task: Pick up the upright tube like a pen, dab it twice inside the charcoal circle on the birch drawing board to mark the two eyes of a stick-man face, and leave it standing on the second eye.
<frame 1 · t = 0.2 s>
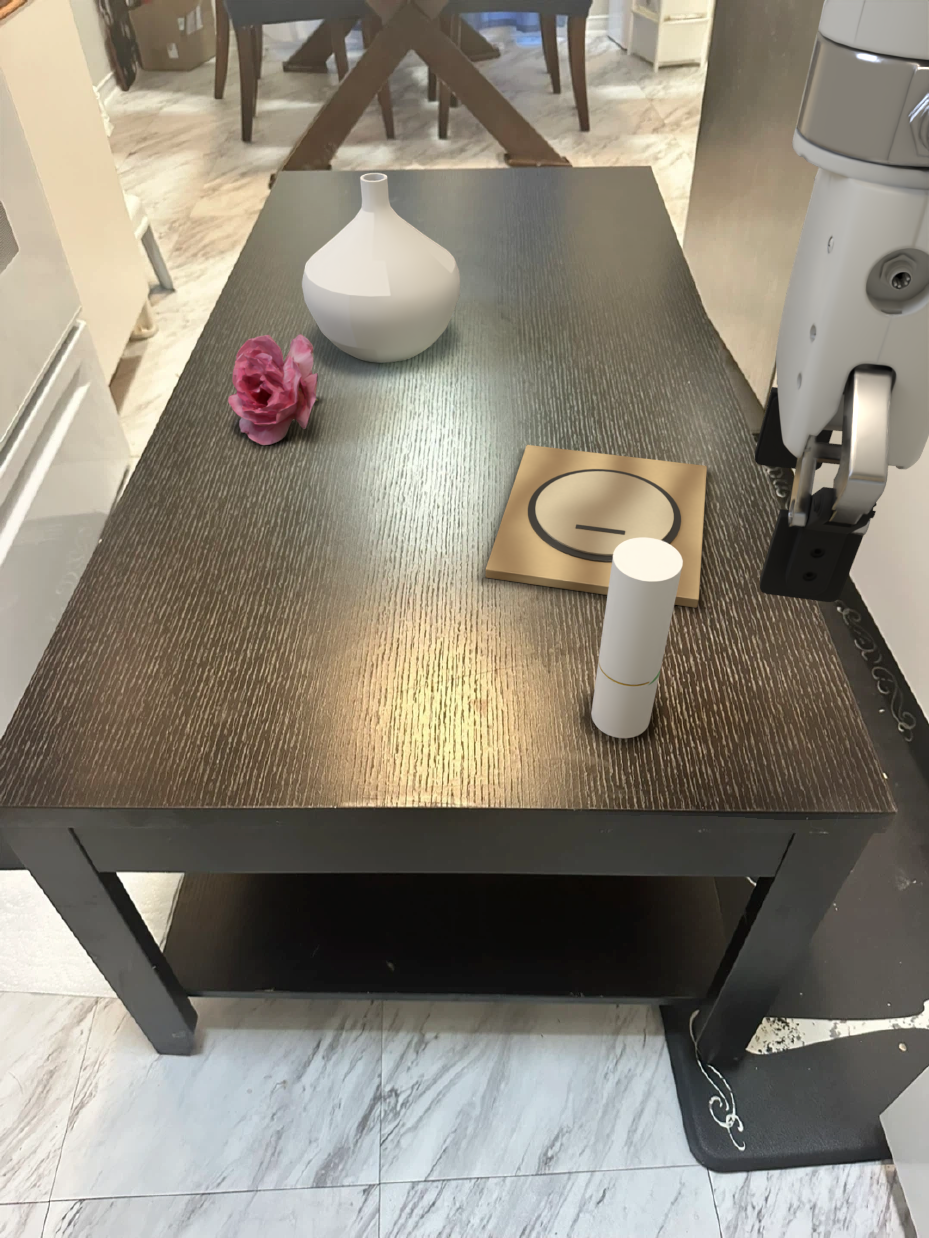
hand: (791, 523, 41), 25 cm above the table, tool pointing down, fingers open, 9 cm apart
vase: (386, 345, 109), on the table
flower: (279, 425, 96), on the table
tube: (620, 717, 65), on the table
drawing board: (602, 522, 82), on the table
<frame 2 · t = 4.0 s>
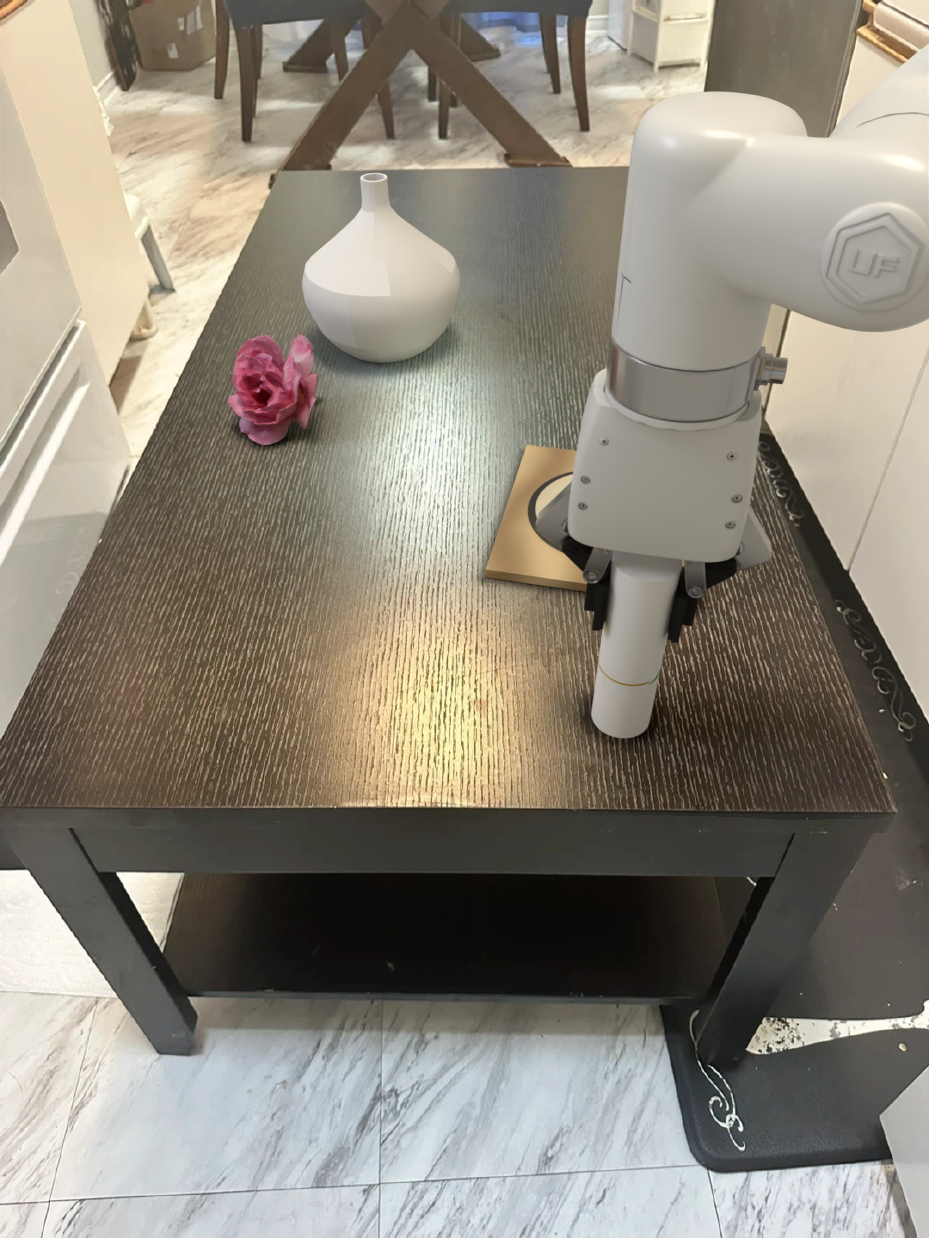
hand: (636, 620, 59), 10 cm above the table, tool pointing down, fingers closed on tube, 4 cm apart
tube: (620, 717, 65), on the table, touching gripper
everything else where it was.
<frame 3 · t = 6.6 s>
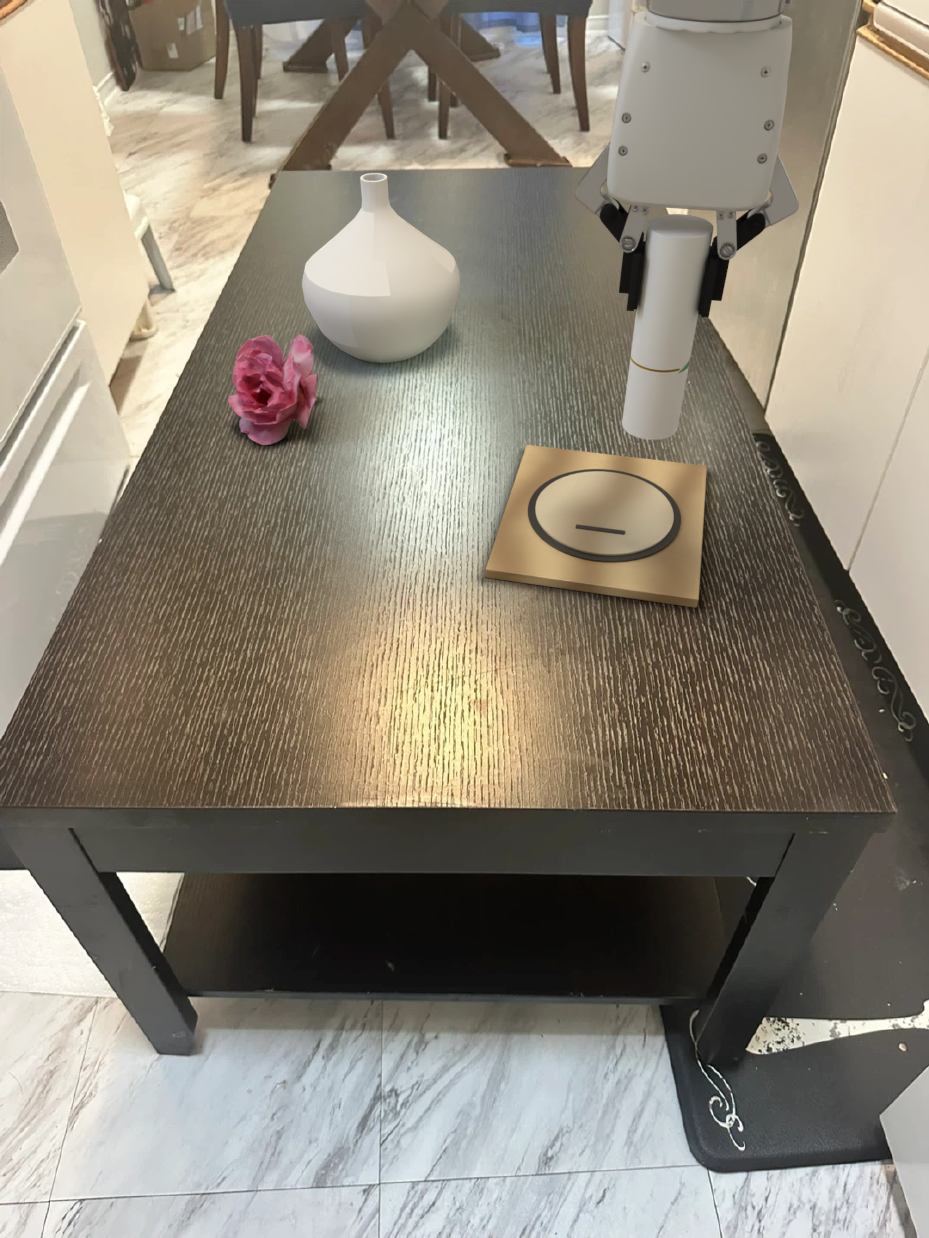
hand: (668, 303, 62), 23 cm above the table, tool pointing down, fingers closed on tube, 4 cm apart
tube: (649, 427, 69), point 14 cm above the table, touching gripper
everything else where it was.
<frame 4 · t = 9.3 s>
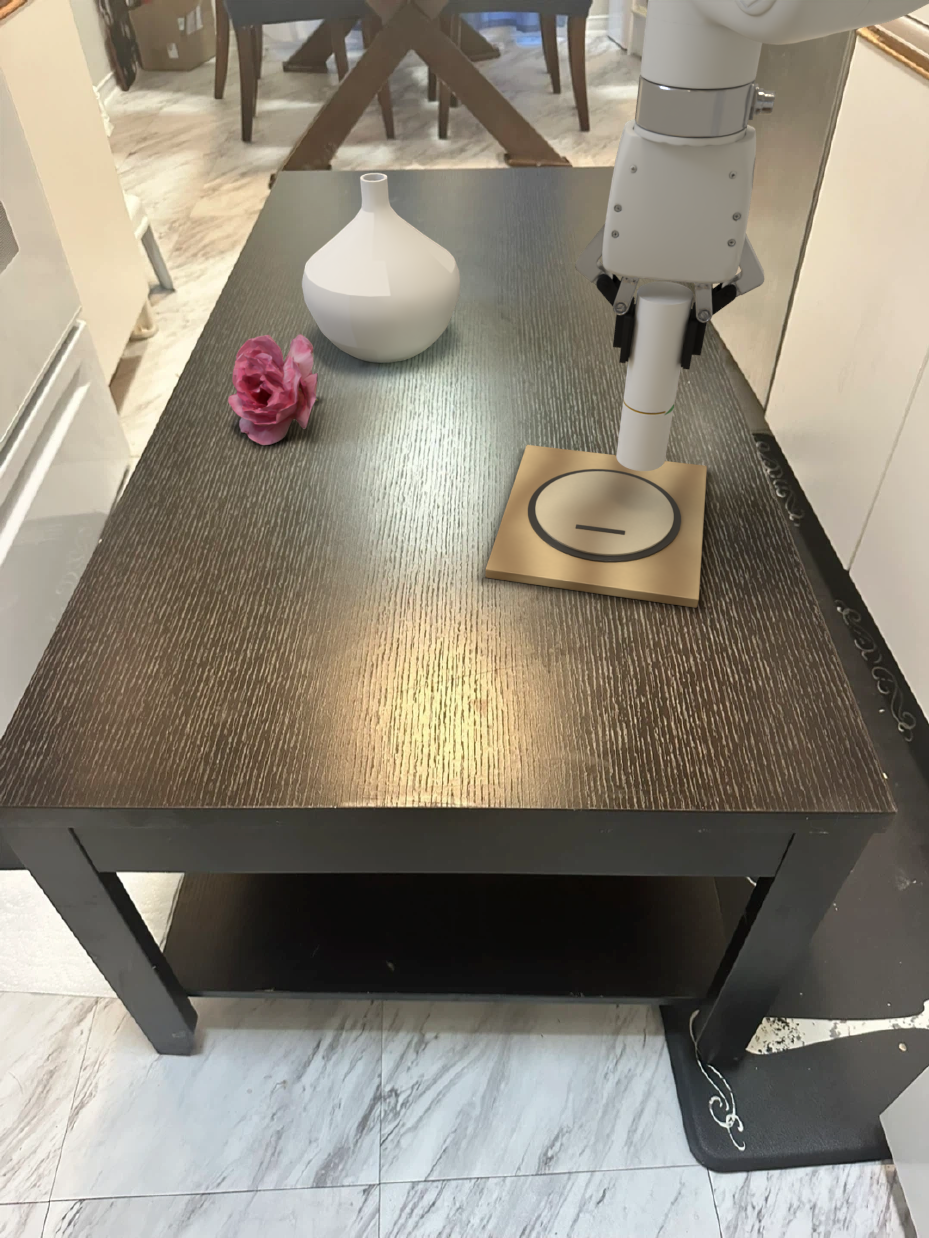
hand: (655, 356, 72), 16 cm above the table, tool pointing down, fingers closed on tube, 4 cm apart
tube: (640, 459, 79), point 6 cm above the table, touching gripper
everything else where it was.
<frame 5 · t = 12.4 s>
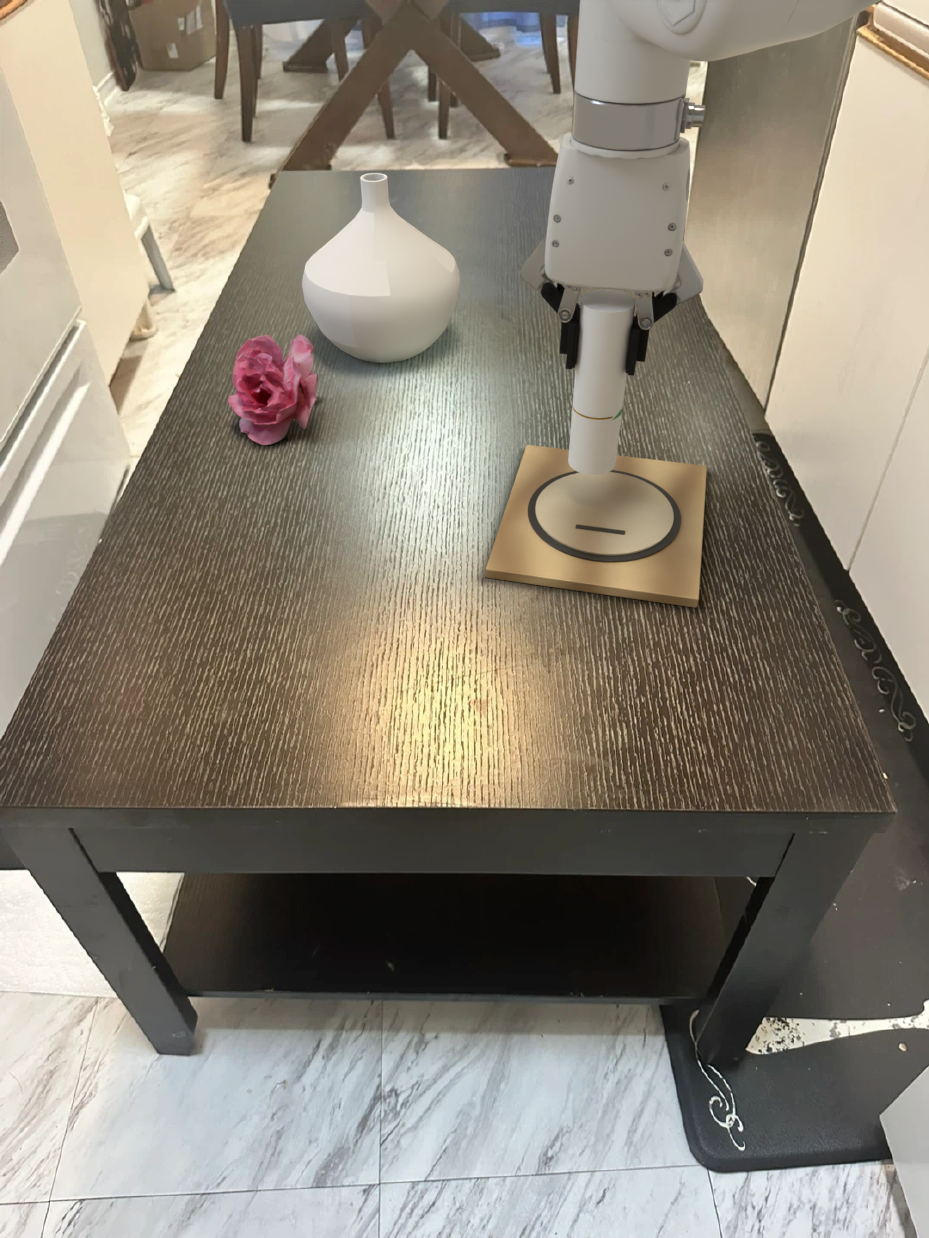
hand: (601, 362, 74), 15 cm above the table, tool pointing down, fingers closed on tube, 4 cm apart
tube: (591, 463, 80), point 5 cm above the table, touching gripper
everything else where it was.
when the fingers open (11 cm above the table, at t = 14.9 s): tube stays where it is, resting on drawing board.
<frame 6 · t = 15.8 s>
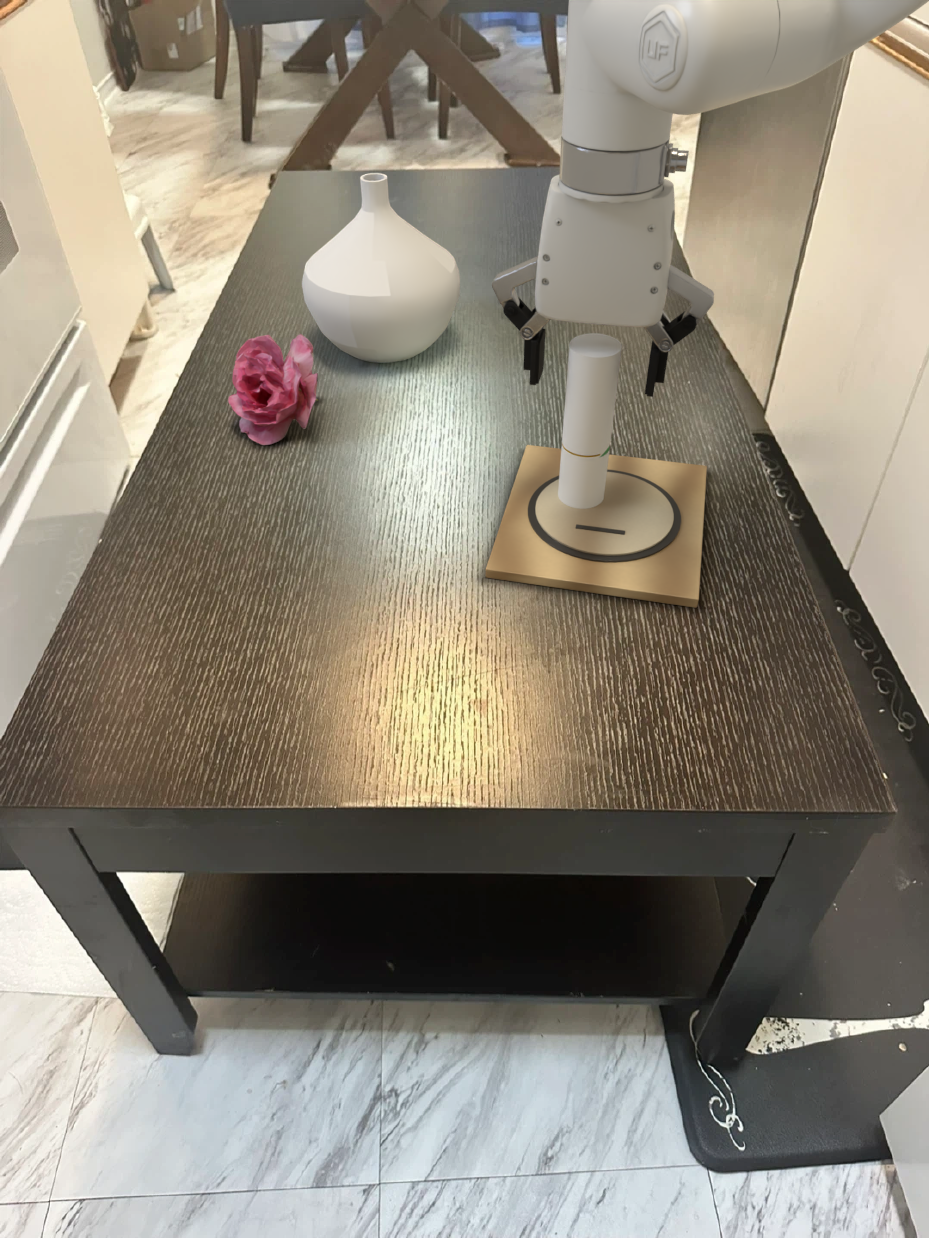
hand: (592, 383, 75), 13 cm above the table, tool pointing down, fingers open, 9 cm apart
tube: (580, 496, 83), point 1 cm above the table, touching drawing board
everything else where it was.
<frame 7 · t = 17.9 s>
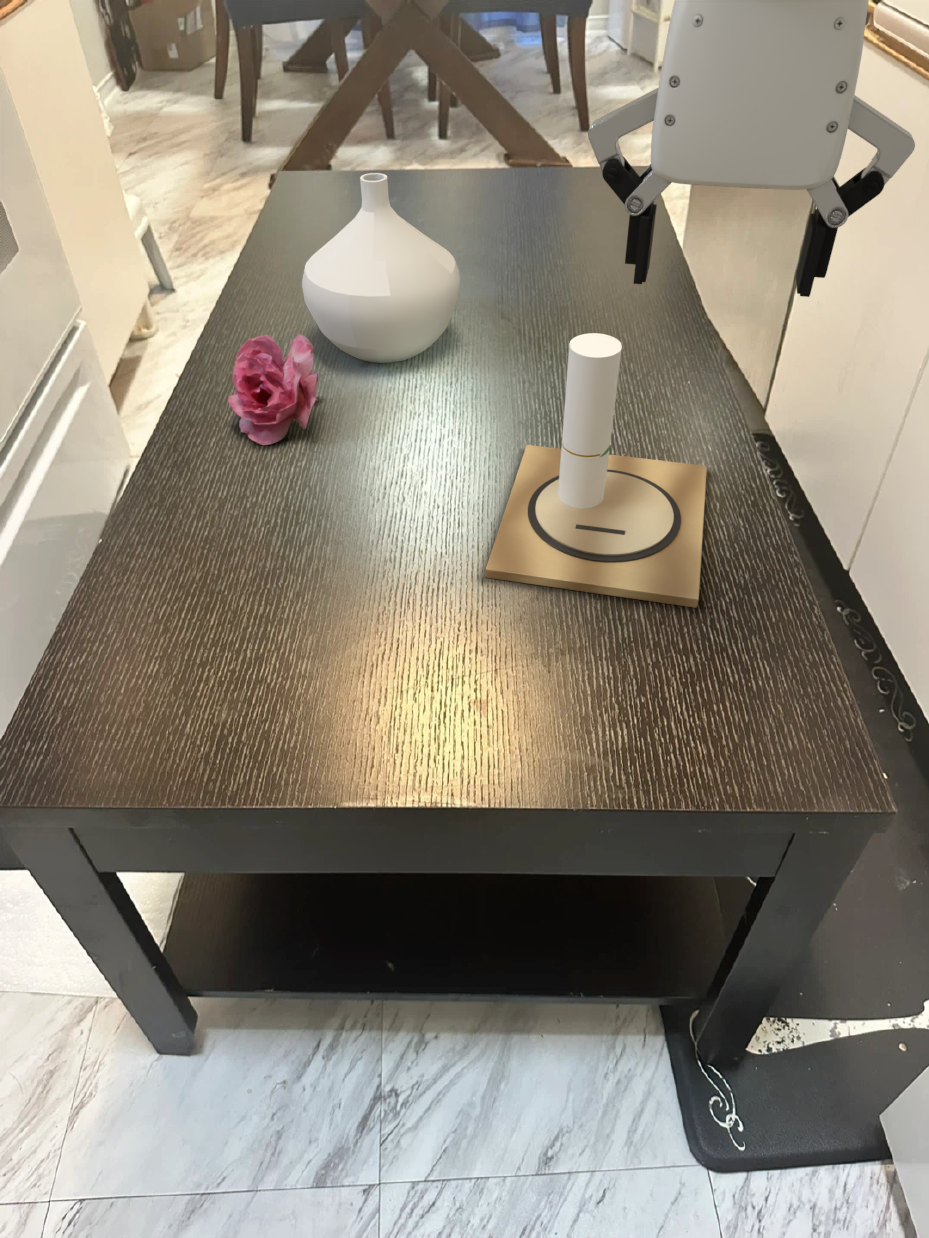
hand: (720, 281, 54), 28 cm above the table, tool pointing down, fingers open, 9 cm apart
nothing on the table moved.
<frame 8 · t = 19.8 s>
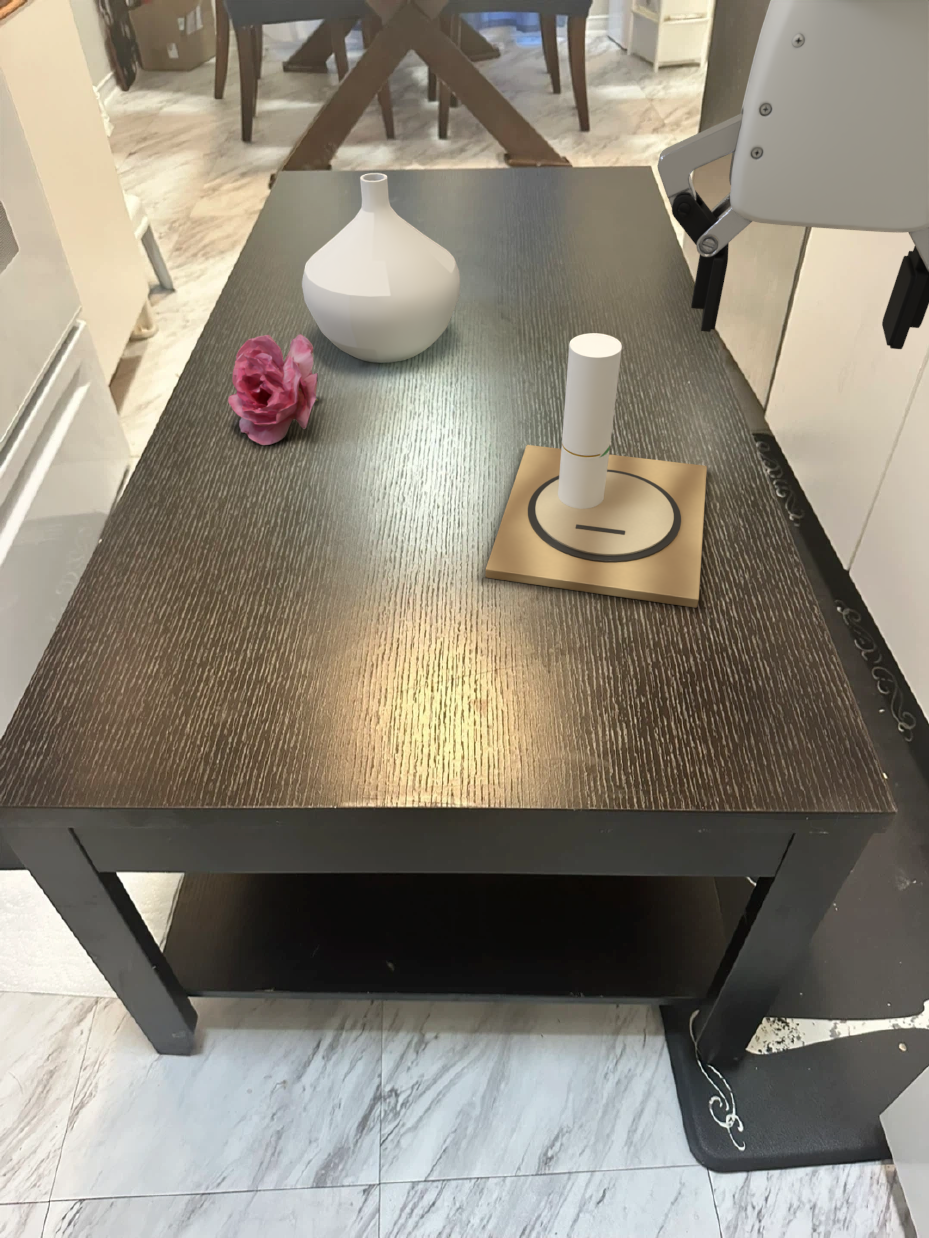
hand: (797, 329, 48), 28 cm above the table, tool pointing down, fingers open, 9 cm apart
nothing on the table moved.
at the end: tube 0.1 cm from the target spot on the drawing board, point 1.2 cm above the drawing board's base; tube tilted 0°; tube moved 25.7 cm from its start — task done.
